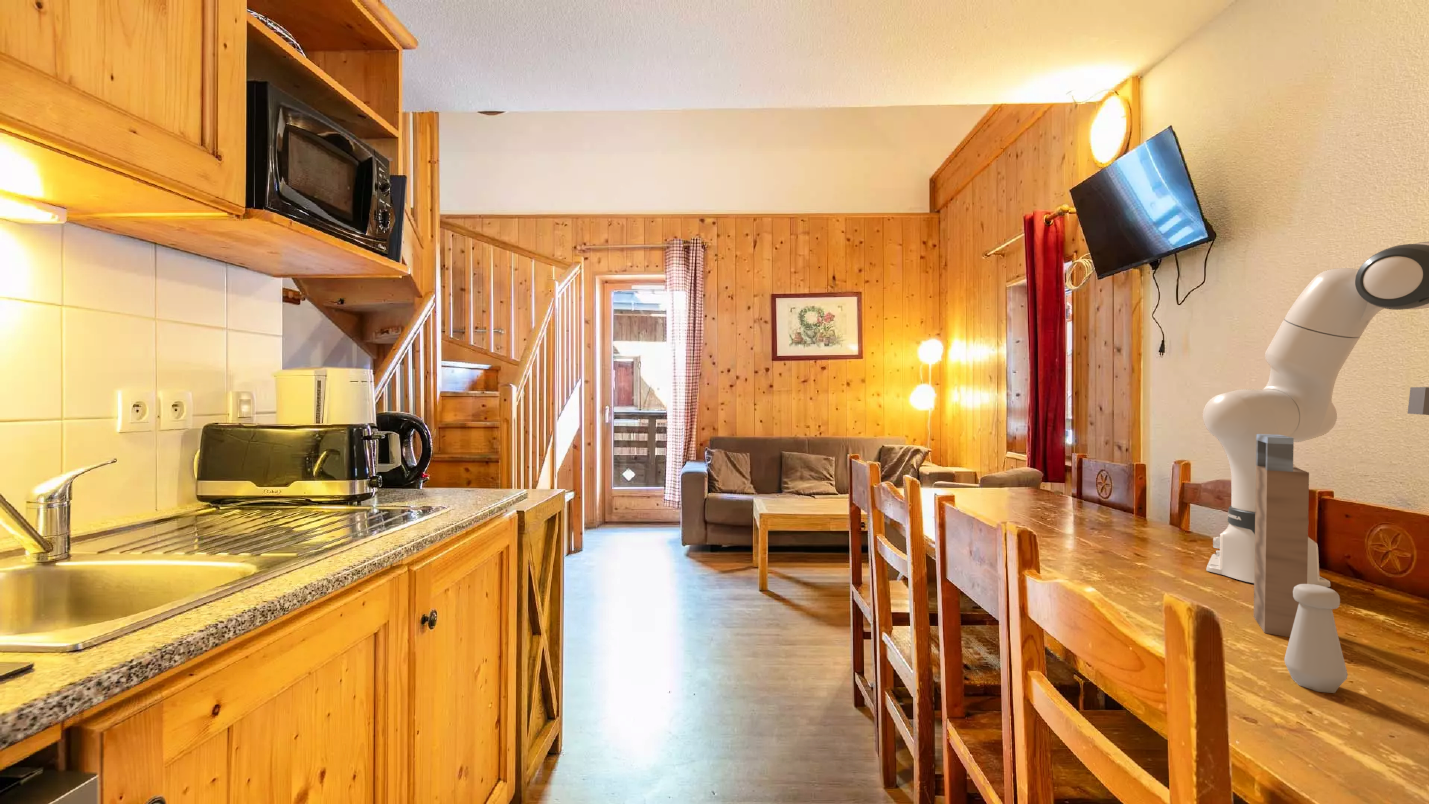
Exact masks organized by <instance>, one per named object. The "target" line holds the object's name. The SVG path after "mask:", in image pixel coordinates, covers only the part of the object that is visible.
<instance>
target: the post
mask: <svg viewBox="0 0 1429 804" xmlns="http://www.w3.org/2000/svg"><path fill="white" fill-rule="evenodd" d="M1294 443H1295V442H1294V438H1292V437H1288V436H1283V435H1270V434H1256V498H1255V562H1254V583H1253V618H1254V620H1255V621H1256V623H1257V624H1258V625H1259V627H1260V628H1261V629H1262V631H1263V633H1265V634H1267V635H1268V634H1269V635H1275V636H1281V637H1287V638H1290V635H1291V632H1292V628H1293V624H1294V620H1295V616H1296V613H1297V609H1298V605H1299V602H1297V601H1295V600H1294V597H1293V589H1294V587H1295V586H1297V585H1299V584H1307V565H1308V537H1309V524H1308V523H1309V504H1310V503H1309V501H1310V500H1309V499H1310V498H1309V497H1310V488H1309V487H1310V472H1308V471H1306V470H1303V469H1300V468H1299V469H1298V467H1297V466H1296V467H1297V468H1296V467H1293V464H1294Z"/></svg>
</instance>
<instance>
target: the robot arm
mask: <svg viewBox="0 0 1429 804" xmlns="http://www.w3.org/2000/svg"><path fill="white" fill-rule="evenodd" d="M1384 309H1386V310H1397V311H1399V310H1400V311H1401V310H1402V311H1403V310H1423V309H1424V310H1425V309H1429V241H1421V242H1415V243H1407V244H1399V245H1394V246H1391V247H1388V248H1386V249H1382V250H1380V251H1378V252H1377V253H1375V254H1373V255H1372V256H1370V257H1368V258H1367V259H1366V260H1364V262H1363V263H1362V264H1361V265H1360V267H1359V268H1358V269H1357V268H1354V267H1353V268H1351V267H1337V268H1331V269H1327V270H1324V271H1321V272H1319V273H1318V274H1316V276H1314V277H1313V278H1312V279H1311V281H1310V282H1309V283H1308V284H1307V285H1306V287H1304V289H1303V290H1302V292H1301V293H1300V294H1299V295H1298V297H1297V298H1296V299H1295V301H1294V302H1293V303H1292V305H1291V306H1290V308H1289V309H1288V311H1287V313H1286V315H1285V316H1284V318H1283V319H1282V322H1281V323H1280V325H1279V327H1278V328H1277V331H1275V334H1274V336H1273V337H1272V339H1271V341H1270V343H1269V345H1268V347H1267V348H1266V350H1265V353H1264V359H1265V361H1266V363H1267V364H1268V365H1269V366H1270V370H1269V371H1270V373H1269V377H1268V381H1267V383H1266V385H1265V386H1264V387H1263V388H1262V389H1261V388H1260V389H1259V388H1256V389H1254V388H1253V389H1250V388H1249V389H1247V388H1242V389H1236V390H1231V391H1227V392H1223V393H1220V394H1216V395H1214V396H1213V397H1211V398H1210V399H1209V400H1208V401H1207V402H1206V404H1205V406H1204V408H1203V410H1202V421H1203V425H1204V427H1205V428H1206V430H1207V431H1208V433H1210V435H1212V436H1214V437H1215V438H1216V440H1217V441H1218V442H1219V443H1220V445H1221V446H1222V449H1223V451H1224V454H1225V456H1226V458H1227V462H1228V465H1229V469H1230V483H1231V484H1230V485H1231V486H1230V487H1231V489H1230V490H1231V491H1230V492H1231V493H1230V494H1231V496H1230V497H1231V498H1230V499H1231V500H1230V501H1231V505H1230V506H1229V507H1228V511H1227V522H1228V525H1227V527H1226V528H1225V530H1223V531H1222V532H1221V533H1219V535H1220V536H1216V537H1215V536H1214V537H1212V538H1213V539H1212V547H1213V548H1214V549H1217V550H1215V553H1213V554H1211V556H1210V558H1209V560H1208V563H1207V566H1206V569H1205V570H1206V571H1207V572H1211V573H1214V574H1218V575H1223V576H1226V577H1229V578H1232V579H1236V580H1239V581H1242V582H1246V583H1251V584H1254V562H1255V498H1256V434H1270V435H1283V436H1288V437H1292V438H1294V443H1299V442H1300V443H1301V442H1306V441H1308V440H1309V441H1310V440H1314V439H1316V438H1319V437H1323V436H1324V435H1326V434H1328V433H1329V432H1330V431H1331V430H1332V429H1333V428H1334V426H1335V425H1336V423H1337V419H1338V412H1337V409H1336V406H1335V405H1334V403H1333V401H1332V399H1333V392H1334V388H1335V384H1336V381H1337V378H1338V376H1339V373H1340V371H1341V369H1342V368H1343V366H1344V365H1345V363H1346V361H1347V360H1348V358H1349V356H1350V354H1351V352H1352V351H1353V349H1354V348H1355V346H1356V345H1357V343H1358V341H1359V340H1360V338H1361V336H1362V335H1363V334H1364V331H1365V330H1366V329H1367V327H1368V325H1369V324H1370V322H1371V320H1373V318H1374V317H1375V316H1376V315H1377V314H1378V313H1380V312H1381V311H1382V310H1384ZM1293 467H1296V468H1298V467H1297V466H1296V465H1295V464H1294V463H1293ZM1298 469H1300V468H1298ZM1308 525H1309V522H1308ZM1218 549H1219V550H1218ZM1319 559H1320V558H1319V547H1318V543H1317V542H1316V541H1315V540H1314V539H1312V538H1310V537H1309V536H1308V565H1307V584H1314V585H1320V586H1324V587H1327V588H1330V587H1331V581H1330V580H1329V579H1326V578H1324V577H1322V576H1320V563H1319V561H1320V560H1319Z"/></svg>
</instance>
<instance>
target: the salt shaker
mask: <svg viewBox="0 0 1429 804" xmlns="http://www.w3.org/2000/svg"><path fill="white" fill-rule="evenodd" d="M1293 597H1294V600H1295V601H1297V602H1299V605H1298V609H1297V613H1296V616H1295V620H1294V624H1293V628H1292V632H1291V635H1290V637H1289V639H1288V644H1287V647H1286V651H1285V655H1284V658H1283V659H1284V665H1285V666H1286V668H1287V669H1286V670H1287V671H1288V673H1289V674H1290V677H1291V679H1292V680H1293V681H1294V682H1295V684H1297V685H1298V686H1300V687H1303V688H1305V689H1309V690H1312V691H1314V692H1319V693H1329V694H1331V693H1332V694H1335V693H1336V692H1337V691H1338V689H1339V687H1341V685H1342V684H1343V683H1344V682H1345V681H1347V679H1348V670H1347V666H1346V662H1345V659H1344V655H1343V649H1342V647H1341V646H1342V645H1341V643H1340V639H1339V635H1338V630H1337V627H1336V625H1337V624H1336V621H1335V617H1334V613H1333V610H1336V609H1339V607H1340V605H1341V598H1340V597H1341V596H1340V595H1339V593H1338V592H1337V591H1335V590H1334V589H1332V588H1330V587H1324V586H1320V585H1314V584H1299V585H1297V586H1295V587H1294V589H1293Z"/></svg>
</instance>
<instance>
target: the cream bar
mask: <svg viewBox="0 0 1429 804" xmlns="http://www.w3.org/2000/svg"><path fill="white" fill-rule="evenodd" d="M1408 397H1409V398H1408V406H1407V414H1409V415H1410V414H1411V415H1423V416H1424V415H1425V416H1429V386H1419V387H1418V386H1411V387H1409V395H1408Z"/></svg>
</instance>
